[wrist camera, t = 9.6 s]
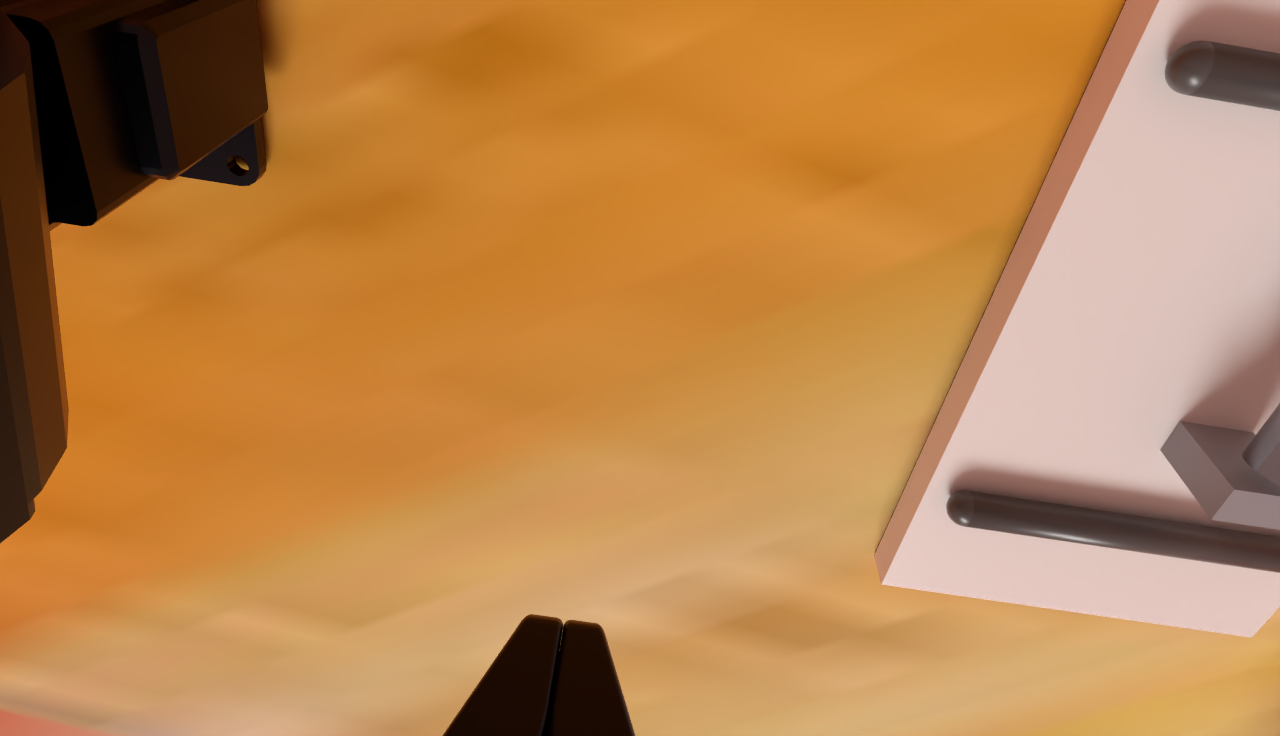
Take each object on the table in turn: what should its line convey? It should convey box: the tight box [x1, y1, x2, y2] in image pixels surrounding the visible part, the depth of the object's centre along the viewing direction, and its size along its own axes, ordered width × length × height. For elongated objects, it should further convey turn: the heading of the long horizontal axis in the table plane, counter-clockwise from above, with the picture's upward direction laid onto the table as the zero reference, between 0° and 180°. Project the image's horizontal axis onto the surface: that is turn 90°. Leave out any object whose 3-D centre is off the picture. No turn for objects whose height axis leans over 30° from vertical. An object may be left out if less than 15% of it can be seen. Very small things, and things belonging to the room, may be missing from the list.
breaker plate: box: [874, 0, 1280, 638], centre depth 19 cm, size 12×20×4 cm, turn 172°
